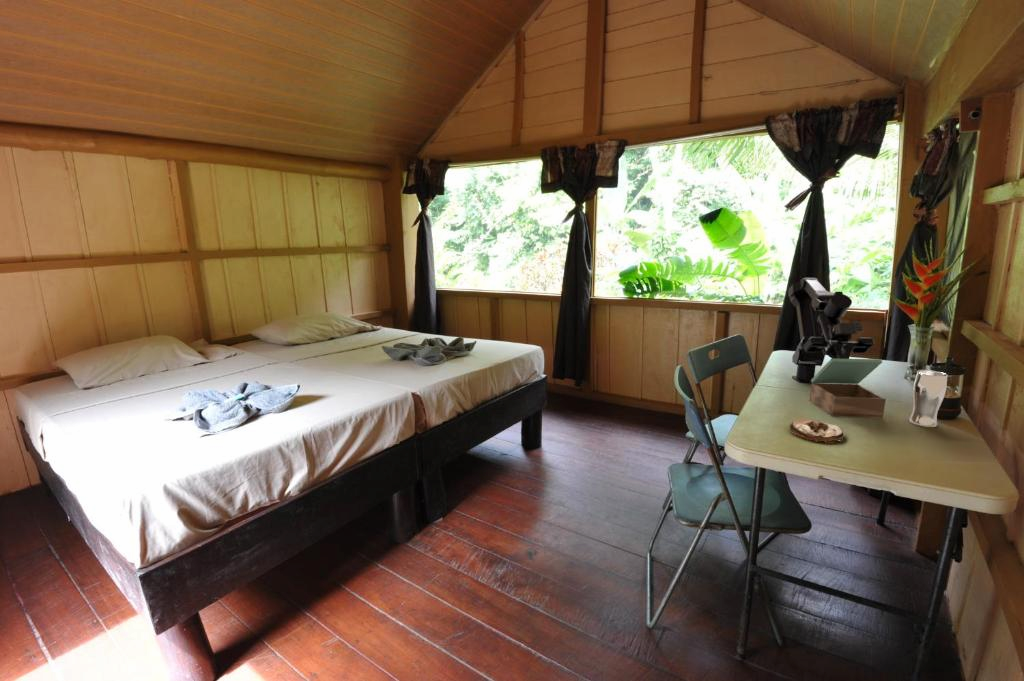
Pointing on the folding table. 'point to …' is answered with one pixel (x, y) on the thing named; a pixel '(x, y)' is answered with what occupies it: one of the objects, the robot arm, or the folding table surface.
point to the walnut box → (847, 400)
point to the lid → (846, 371)
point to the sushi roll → (816, 430)
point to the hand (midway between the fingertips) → (846, 368)
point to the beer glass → (927, 397)
